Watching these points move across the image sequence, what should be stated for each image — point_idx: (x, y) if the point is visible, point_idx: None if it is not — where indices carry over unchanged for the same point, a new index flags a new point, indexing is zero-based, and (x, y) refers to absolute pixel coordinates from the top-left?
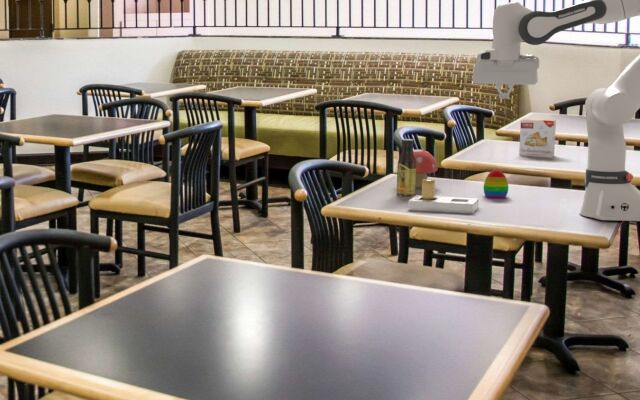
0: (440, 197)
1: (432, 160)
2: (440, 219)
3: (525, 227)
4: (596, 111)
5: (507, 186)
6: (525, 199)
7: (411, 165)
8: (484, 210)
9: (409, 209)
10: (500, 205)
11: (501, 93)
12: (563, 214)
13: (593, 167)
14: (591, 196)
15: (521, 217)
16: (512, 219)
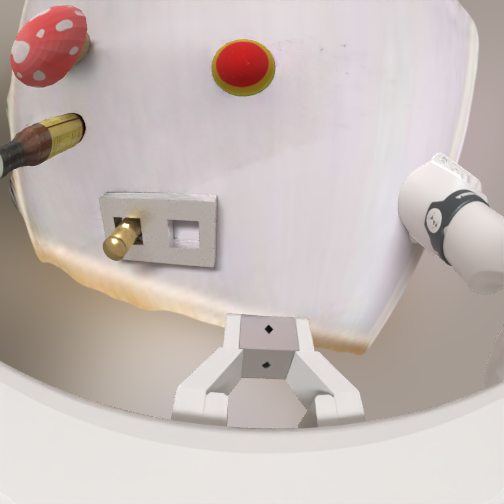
0: (142, 211)
1: (63, 47)
2: (180, 304)
3: None
4: (497, 362)
5: (273, 76)
6: (313, 63)
7: (43, 158)
8: (231, 220)
9: None
10: (259, 154)
11: (240, 376)
12: (366, 229)
13: (447, 260)
14: (420, 234)
15: (295, 268)
16: (280, 286)
